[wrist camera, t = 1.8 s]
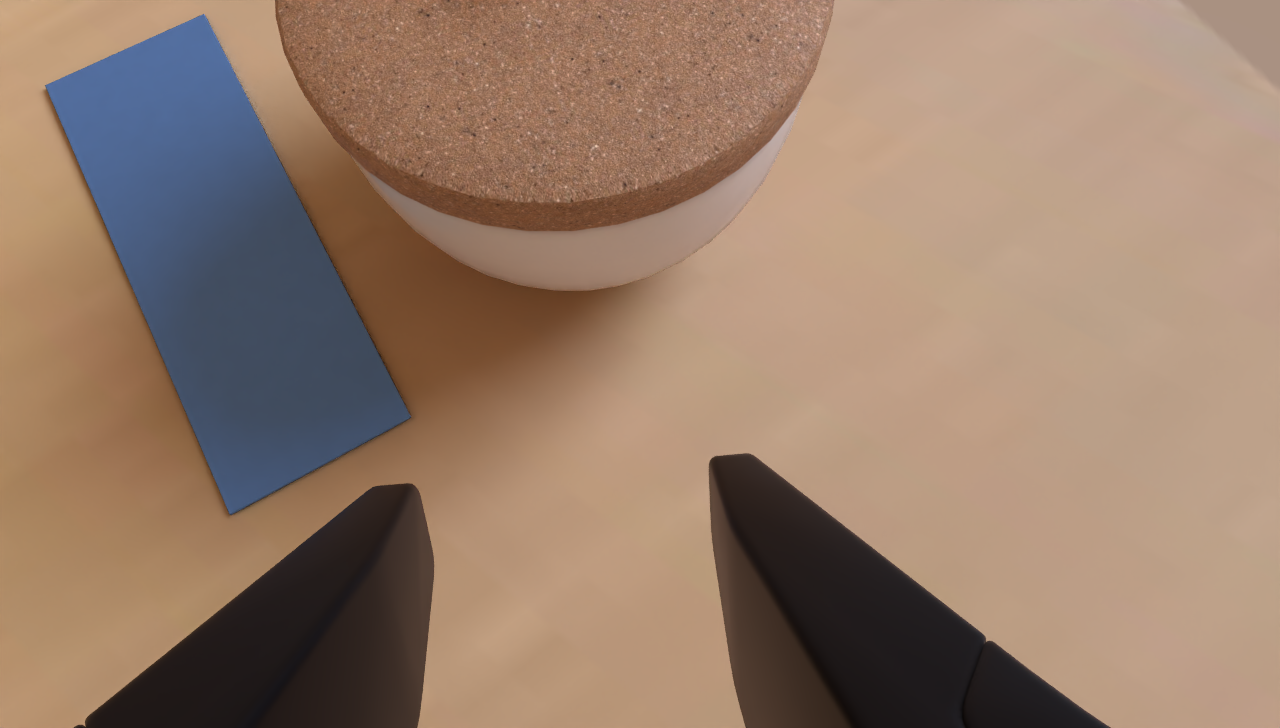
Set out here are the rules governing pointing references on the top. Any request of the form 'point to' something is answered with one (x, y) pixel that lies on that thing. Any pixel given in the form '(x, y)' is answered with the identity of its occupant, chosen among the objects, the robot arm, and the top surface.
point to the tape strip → (225, 264)
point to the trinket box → (559, 120)
